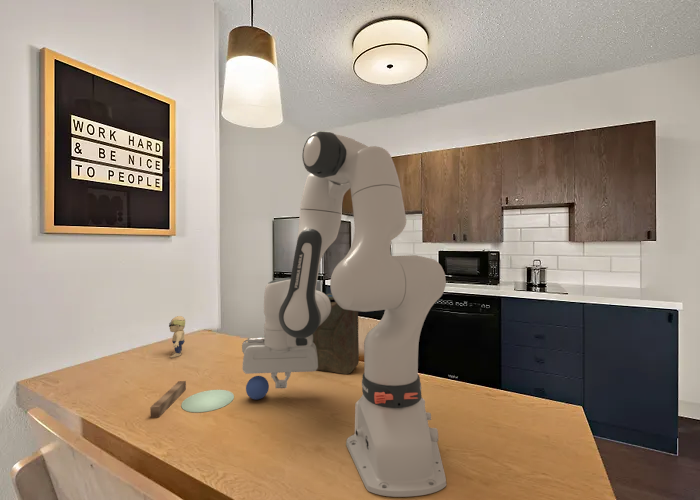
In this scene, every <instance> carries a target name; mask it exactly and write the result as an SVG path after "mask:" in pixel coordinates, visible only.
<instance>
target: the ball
mask: <svg viewBox="0 0 700 500" xmlns="http://www.w3.org/2000/svg"><path fill="white" fill-rule="evenodd" d="M269 389H270V384H269V381H268V379H267V378H265V377H264V376H263V375H255V376H253V377H251V378H250V379H249V380H248V381H247V383H246V385H245V391H246V394H247V396H248V397H249V398H250V399H252V400H256V401H257V400H261V399H263V398H264V397H265V396H266V395H267V394H268V392H269Z"/></svg>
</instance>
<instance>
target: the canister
mask: <svg viewBox="0 0 700 500" xmlns="http://www.w3.org/2000/svg"><path fill="white" fill-rule="evenodd" d="M326 295H327V296H328V298H329V299H330V302H331V312H330V315H329V316H328V318H327V319H326V320H325V321H324V322H323V323H322V324H321V325H320V326H319V327H318V328H317V329H316V331H315V332H314V333H313V343H314V344H315V346H316V350H317V356H318V368H317V370H316V371H320V372H321V371H324V372H330V373H335V374H343V375H347V374H348V375H349V374H351V373H352V372H353V371H354V370H355V369H356V368H357V367H358V365H359V362H360V361H359V360H360V356H359V355H360V353H359V352H360V351H359V350H360V349H359V346H360V345H359V311H353V310H346V309H343V308H341V307H340V306H339V305H338V304H337V303H336V301H335V300H334V298H333V295H332V293H327V294H326Z"/></svg>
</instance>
